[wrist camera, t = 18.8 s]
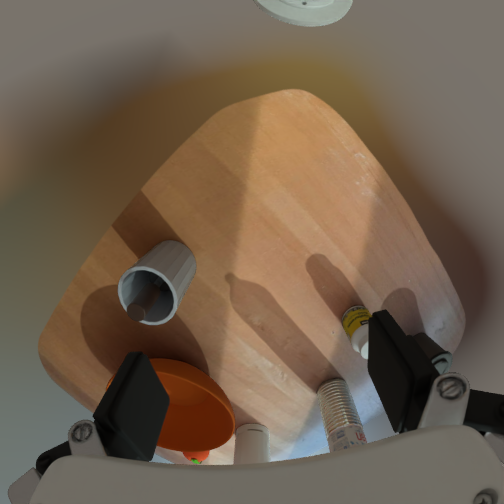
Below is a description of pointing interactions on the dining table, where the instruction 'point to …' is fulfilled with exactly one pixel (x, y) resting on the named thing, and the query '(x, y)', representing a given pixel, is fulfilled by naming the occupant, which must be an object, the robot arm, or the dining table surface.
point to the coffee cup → (435, 353)
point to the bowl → (192, 408)
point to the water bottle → (339, 416)
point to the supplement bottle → (357, 328)
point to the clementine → (196, 456)
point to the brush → (146, 297)
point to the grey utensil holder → (166, 266)
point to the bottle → (252, 444)
